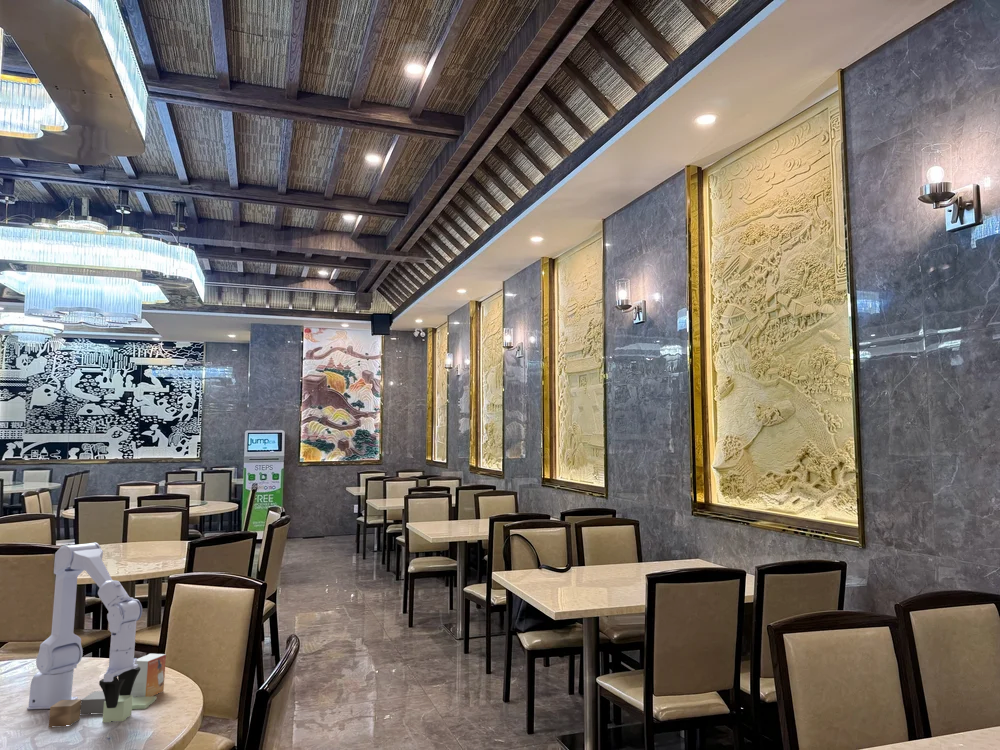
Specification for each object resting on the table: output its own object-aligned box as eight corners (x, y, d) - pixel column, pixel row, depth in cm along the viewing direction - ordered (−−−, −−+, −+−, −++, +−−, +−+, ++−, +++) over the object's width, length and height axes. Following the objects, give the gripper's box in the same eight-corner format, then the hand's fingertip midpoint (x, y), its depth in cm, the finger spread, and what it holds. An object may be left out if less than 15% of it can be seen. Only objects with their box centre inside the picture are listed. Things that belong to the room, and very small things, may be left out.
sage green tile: (118, 709, 179) (118, 705, 179) (130, 700, 186) (130, 697, 186) (145, 708, 180) (145, 704, 180) (156, 700, 187) (156, 696, 187)
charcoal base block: (80, 715, 176) (81, 699, 176) (93, 706, 182) (94, 691, 183) (107, 714, 176) (109, 698, 177) (119, 705, 183) (121, 690, 184)
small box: (144, 700, 186) (147, 661, 188) (127, 699, 187) (130, 660, 189) (164, 691, 194) (166, 653, 196) (147, 690, 195) (150, 652, 197)
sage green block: (102, 722, 170) (103, 702, 171) (111, 715, 175) (113, 695, 176) (122, 721, 171) (124, 701, 171) (131, 714, 176) (132, 695, 176)
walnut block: (48, 727, 167) (50, 706, 168) (59, 720, 172) (61, 700, 173) (69, 726, 167) (71, 706, 168) (79, 719, 172) (81, 699, 173)
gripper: (125, 655, 169) (121, 711, 167) (149, 641, 183) (146, 692, 181) (96, 656, 168) (92, 712, 166) (122, 641, 182) (119, 693, 180)
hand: (118, 702), depth 173 cm, fingers open, 7 cm apart
